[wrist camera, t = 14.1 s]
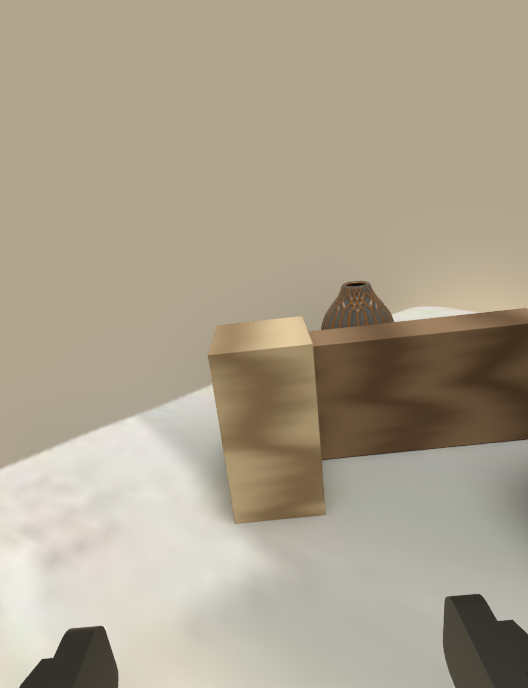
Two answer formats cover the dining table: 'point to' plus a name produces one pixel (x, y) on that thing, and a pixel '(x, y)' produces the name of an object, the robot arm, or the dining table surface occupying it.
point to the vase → (356, 308)
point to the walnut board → (422, 383)
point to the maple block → (268, 418)
